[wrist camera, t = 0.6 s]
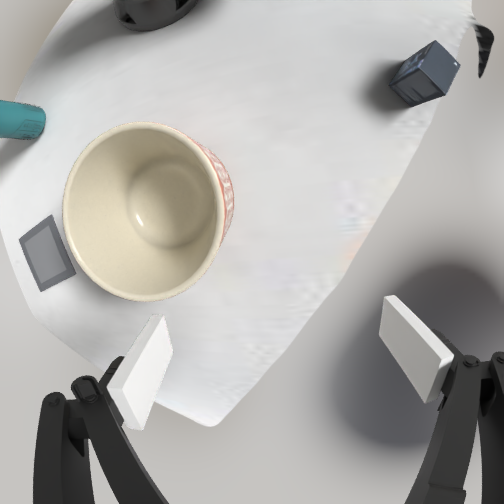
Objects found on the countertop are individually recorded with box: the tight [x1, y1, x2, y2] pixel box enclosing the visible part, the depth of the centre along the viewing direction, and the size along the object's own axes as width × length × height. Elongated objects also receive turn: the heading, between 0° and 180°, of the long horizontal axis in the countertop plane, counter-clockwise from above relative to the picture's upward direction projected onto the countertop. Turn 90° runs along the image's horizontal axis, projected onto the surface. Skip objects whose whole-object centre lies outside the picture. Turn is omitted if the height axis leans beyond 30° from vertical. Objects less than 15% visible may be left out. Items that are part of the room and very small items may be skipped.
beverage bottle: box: [0, 100, 46, 140], centre depth 27 cm, size 6×7×20 cm
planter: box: [62, 122, 234, 302], centre depth 33 cm, size 19×19×15 cm
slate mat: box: [19, 215, 76, 292], centre depth 43 cm, size 12×12×1 cm
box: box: [389, 40, 460, 107], centre depth 30 cm, size 8×6×11 cm
